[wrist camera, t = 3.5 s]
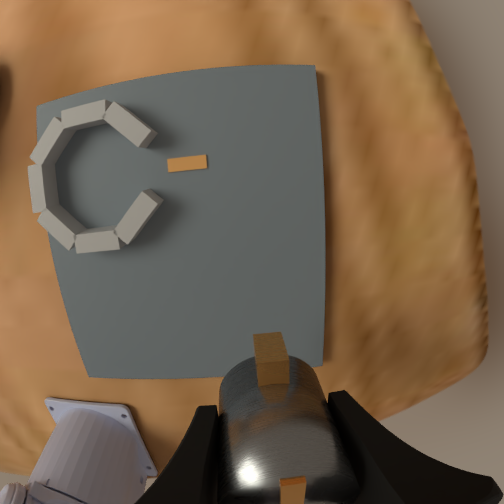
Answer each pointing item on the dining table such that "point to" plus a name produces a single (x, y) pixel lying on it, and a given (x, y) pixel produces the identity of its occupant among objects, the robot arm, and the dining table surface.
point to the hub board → (186, 218)
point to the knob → (279, 434)
